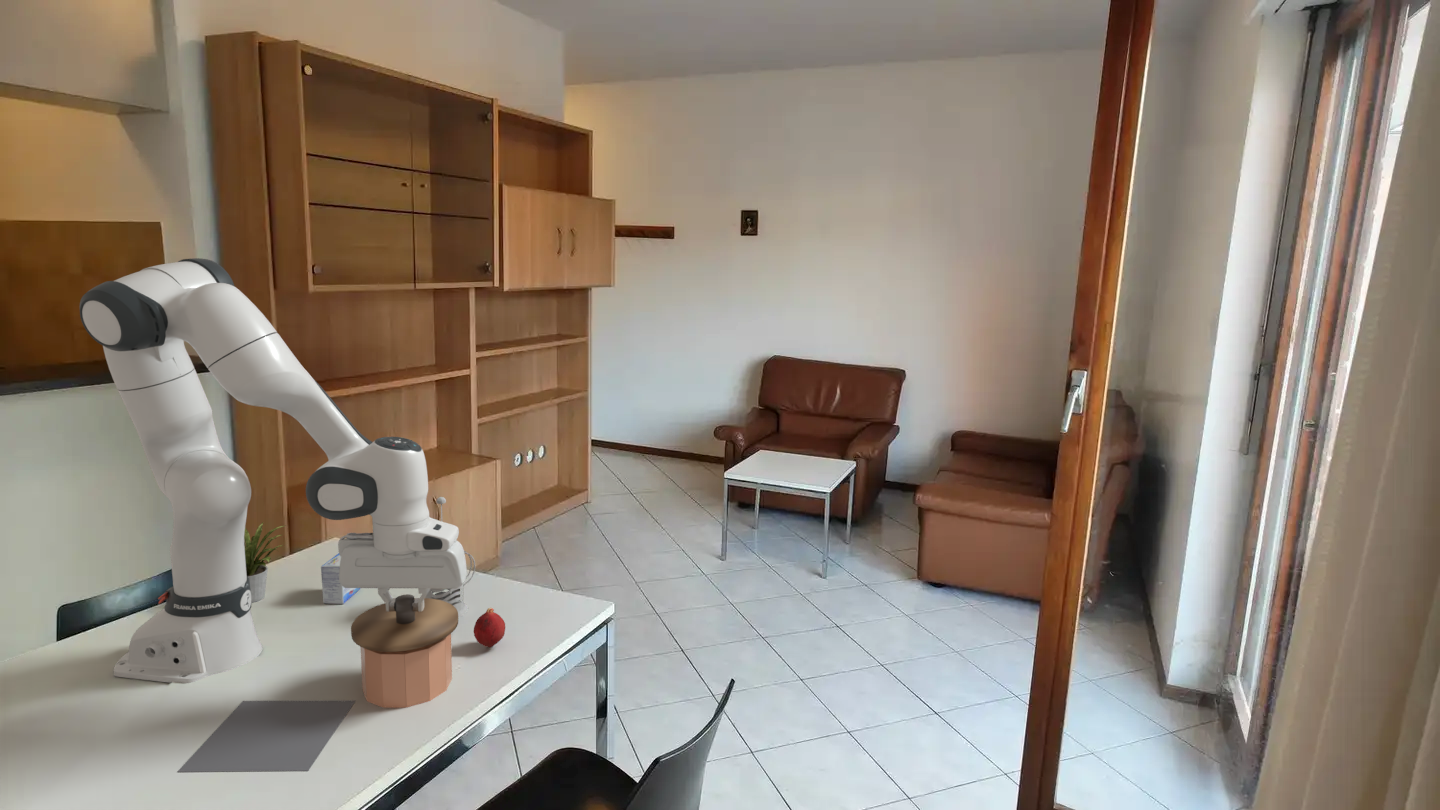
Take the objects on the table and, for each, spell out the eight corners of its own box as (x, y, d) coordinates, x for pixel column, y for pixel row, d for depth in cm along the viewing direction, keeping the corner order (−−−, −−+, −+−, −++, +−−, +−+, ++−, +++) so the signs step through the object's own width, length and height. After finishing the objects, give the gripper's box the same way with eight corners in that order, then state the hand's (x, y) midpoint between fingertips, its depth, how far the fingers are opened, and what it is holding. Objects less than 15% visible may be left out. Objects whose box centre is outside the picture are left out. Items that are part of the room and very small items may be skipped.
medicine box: (343, 605, 166) (341, 566, 164) (322, 604, 166) (320, 565, 164) (360, 589, 173) (359, 552, 172) (340, 588, 173) (338, 551, 172)
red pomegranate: (496, 656, 148) (495, 617, 146) (468, 652, 149) (467, 613, 147) (510, 642, 153) (510, 604, 152) (483, 638, 154) (482, 600, 153)
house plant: (310, 588, 172) (305, 518, 169) (261, 616, 159) (256, 540, 156) (254, 580, 175) (249, 511, 172) (202, 607, 162) (195, 532, 159)
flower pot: (351, 710, 129) (348, 654, 127) (380, 665, 143) (378, 614, 141) (438, 709, 130) (436, 654, 128) (459, 666, 144) (458, 615, 142)
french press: (411, 608, 165) (407, 495, 160) (464, 594, 173) (462, 485, 168) (430, 626, 158) (426, 507, 153) (484, 610, 166) (482, 497, 161)
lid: (334, 652, 125) (332, 621, 124) (372, 604, 142) (371, 577, 141) (443, 651, 126) (442, 621, 125) (468, 604, 143) (468, 577, 142)
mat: (177, 775, 112) (177, 771, 112) (243, 703, 129) (242, 700, 129) (308, 773, 113) (308, 770, 113) (355, 703, 131) (355, 700, 131)
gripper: (329, 539, 127) (334, 618, 130) (458, 540, 128) (460, 618, 131) (345, 526, 133) (349, 601, 136) (468, 527, 135) (470, 602, 137)
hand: (405, 610), depth 133 cm, fingers closed on lid, 3 cm apart
